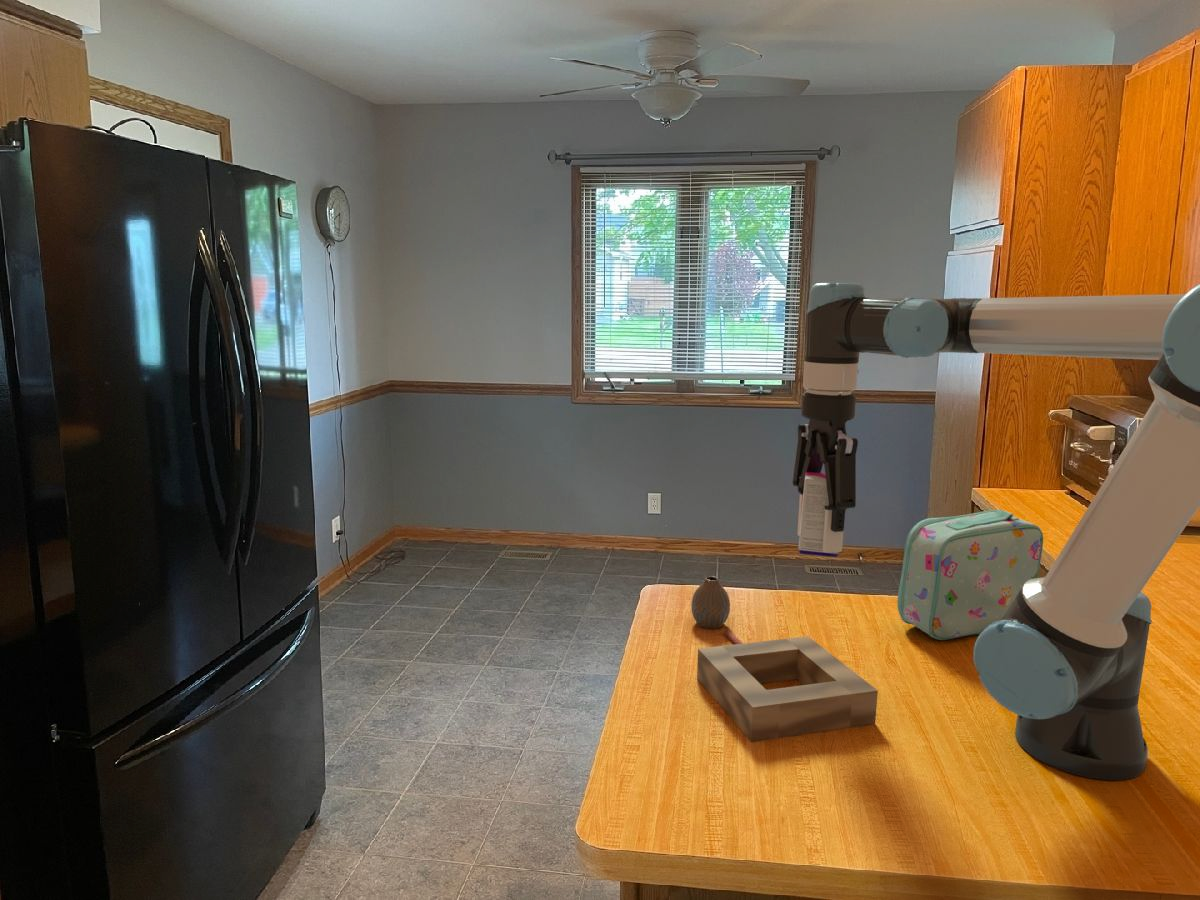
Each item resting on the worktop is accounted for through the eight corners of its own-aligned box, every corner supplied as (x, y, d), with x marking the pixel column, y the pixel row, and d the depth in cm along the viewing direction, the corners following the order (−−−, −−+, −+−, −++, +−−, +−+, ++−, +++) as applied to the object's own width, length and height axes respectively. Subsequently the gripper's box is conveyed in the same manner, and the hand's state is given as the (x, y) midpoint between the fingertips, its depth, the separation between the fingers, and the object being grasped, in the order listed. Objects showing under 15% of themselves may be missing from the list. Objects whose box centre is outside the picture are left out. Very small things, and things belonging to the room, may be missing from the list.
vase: (686, 628, 148) (687, 581, 146) (696, 614, 154) (698, 569, 153) (723, 634, 145) (726, 587, 144) (733, 620, 152) (735, 575, 150)
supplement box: (839, 558, 121) (845, 481, 119) (797, 554, 122) (802, 478, 120) (838, 546, 126) (843, 473, 124) (798, 543, 128) (803, 470, 126)
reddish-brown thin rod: (759, 663, 134) (760, 657, 134) (754, 664, 134) (754, 658, 134) (727, 633, 146) (728, 627, 146) (722, 633, 146) (722, 628, 146)
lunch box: (992, 605, 161) (1003, 498, 157) (1040, 624, 152) (1053, 511, 148) (888, 627, 149) (898, 512, 145) (933, 649, 140) (945, 527, 136)
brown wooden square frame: (875, 723, 116) (877, 690, 115) (751, 741, 111) (752, 707, 110) (806, 665, 134) (808, 636, 133) (696, 678, 129) (698, 648, 128)
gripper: (891, 400, 111) (878, 563, 115) (819, 383, 130) (810, 523, 135) (840, 401, 109) (828, 566, 114) (775, 383, 129) (767, 525, 133)
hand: (818, 542), depth 124 cm, fingers closed on supplement box, 7 cm apart
